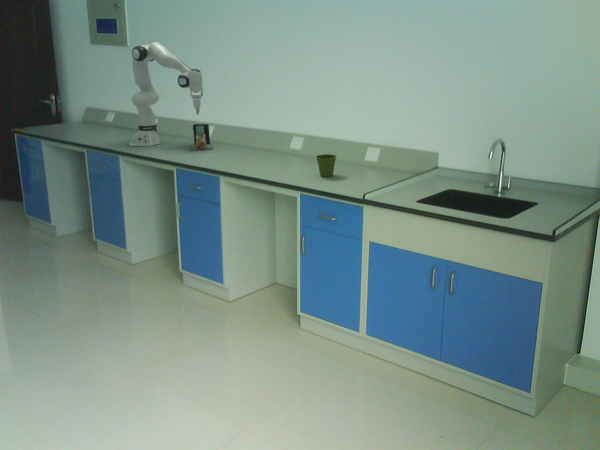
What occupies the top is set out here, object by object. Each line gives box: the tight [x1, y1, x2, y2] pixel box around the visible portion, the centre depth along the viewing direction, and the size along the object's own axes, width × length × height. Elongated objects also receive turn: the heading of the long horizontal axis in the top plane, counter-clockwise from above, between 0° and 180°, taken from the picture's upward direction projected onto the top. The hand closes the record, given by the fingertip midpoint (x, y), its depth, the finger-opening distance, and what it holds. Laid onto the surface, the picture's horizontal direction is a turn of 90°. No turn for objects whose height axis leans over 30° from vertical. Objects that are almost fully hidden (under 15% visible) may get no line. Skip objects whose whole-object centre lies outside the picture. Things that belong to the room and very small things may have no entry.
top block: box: [196, 134, 205, 143], centre depth 421 cm, size 6×6×5 cm
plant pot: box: [315, 153, 337, 178], centre depth 340 cm, size 12×12×11 cm
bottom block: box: [195, 141, 208, 150], centre depth 423 cm, size 7×7×5 cm
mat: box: [189, 146, 214, 152], centre depth 424 cm, size 16×12×1 cm
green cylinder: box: [196, 126, 204, 136], centre depth 420 cm, size 6×6×6 cm
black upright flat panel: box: [192, 123, 211, 146], centre depth 440 cm, size 11×4×15 cm, turn 84°
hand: (197, 113), depth 420 cm, fingers open, 8 cm apart
